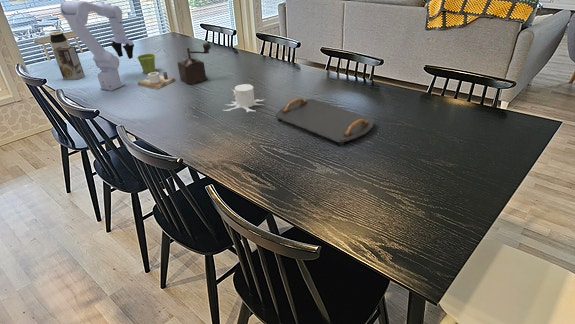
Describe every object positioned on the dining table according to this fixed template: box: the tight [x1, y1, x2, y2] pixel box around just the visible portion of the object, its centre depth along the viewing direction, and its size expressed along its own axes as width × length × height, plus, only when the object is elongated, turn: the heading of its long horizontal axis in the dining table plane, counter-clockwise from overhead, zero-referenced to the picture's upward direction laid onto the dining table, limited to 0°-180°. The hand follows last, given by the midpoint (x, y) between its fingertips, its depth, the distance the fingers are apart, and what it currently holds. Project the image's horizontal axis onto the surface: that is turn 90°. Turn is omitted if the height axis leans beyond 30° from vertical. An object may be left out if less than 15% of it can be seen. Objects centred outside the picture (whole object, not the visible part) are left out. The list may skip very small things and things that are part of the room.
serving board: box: [274, 97, 375, 146], centre depth 149 cm, size 39×23×6 cm, turn 46°
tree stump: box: [223, 83, 266, 113], centre depth 167 cm, size 20×19×8 cm
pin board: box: [137, 71, 176, 90], centre depth 194 cm, size 13×13×5 cm
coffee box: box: [52, 45, 86, 81], centre depth 202 cm, size 9×6×16 cm
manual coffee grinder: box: [177, 42, 212, 86], centre depth 193 cm, size 16×11×18 cm
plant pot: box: [136, 53, 156, 74], centre depth 208 cm, size 9×9×9 cm
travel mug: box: [48, 30, 69, 50], centre depth 225 cm, size 8×8×18 cm
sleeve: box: [147, 71, 161, 85], centre depth 189 cm, size 5×5×5 cm
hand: (125, 57), depth 199 cm, fingers open, 7 cm apart
